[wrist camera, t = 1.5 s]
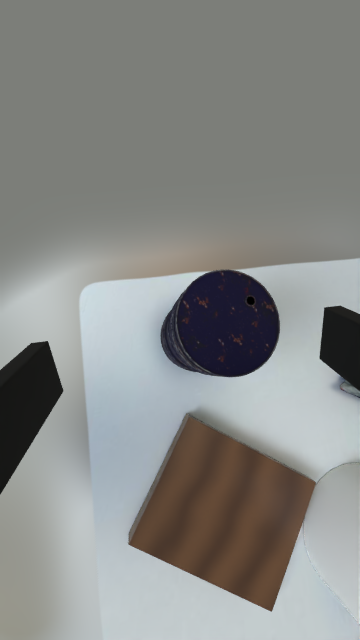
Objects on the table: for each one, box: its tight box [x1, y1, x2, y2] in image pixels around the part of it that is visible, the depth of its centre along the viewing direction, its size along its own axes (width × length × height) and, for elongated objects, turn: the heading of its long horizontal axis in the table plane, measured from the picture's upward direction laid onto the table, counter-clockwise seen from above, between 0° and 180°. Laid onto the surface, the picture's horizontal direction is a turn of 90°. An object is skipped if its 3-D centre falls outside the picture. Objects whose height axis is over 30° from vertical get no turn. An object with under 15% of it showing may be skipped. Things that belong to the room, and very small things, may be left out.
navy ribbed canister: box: [161, 270, 280, 377], centre depth 30 cm, size 10×10×15 cm
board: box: [128, 414, 316, 612], centre depth 33 cm, size 20×16×2 cm
